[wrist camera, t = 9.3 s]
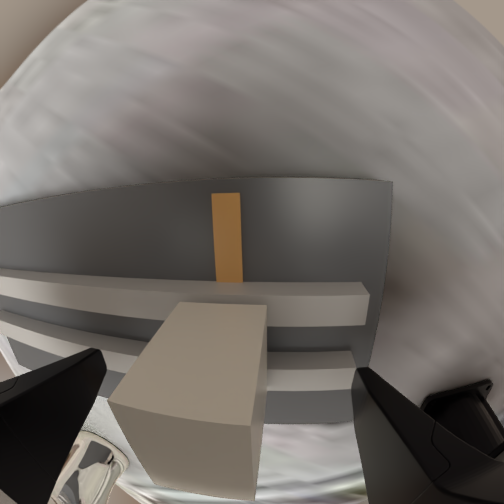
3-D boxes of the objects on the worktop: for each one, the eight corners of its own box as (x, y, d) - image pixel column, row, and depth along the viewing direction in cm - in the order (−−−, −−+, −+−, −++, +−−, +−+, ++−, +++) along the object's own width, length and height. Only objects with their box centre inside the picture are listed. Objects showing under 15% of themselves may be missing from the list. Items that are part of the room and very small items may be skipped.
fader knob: (268, 291, 10) (250, 425, 4) (268, 375, 11) (254, 500, 5) (189, 289, 10) (107, 400, 5) (200, 370, 12) (154, 484, 6)
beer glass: (108, 467, 21) (61, 556, 7) (64, 427, 20) (1, 517, 5) (146, 469, 20) (98, 580, 5) (96, 425, 18) (24, 542, 4)
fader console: (375, 179, 11) (406, 183, 8) (347, 396, 14) (355, 437, 11) (-5, 208, 13) (-37, 217, 10) (32, 352, 17) (10, 371, 14)
